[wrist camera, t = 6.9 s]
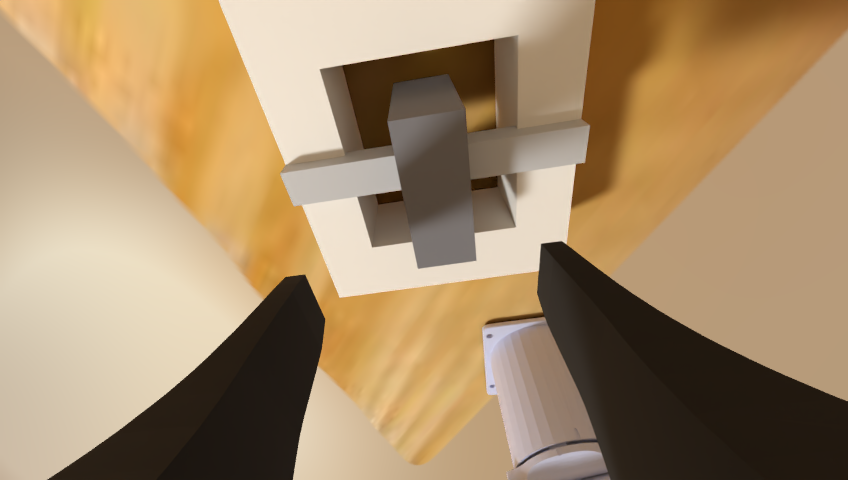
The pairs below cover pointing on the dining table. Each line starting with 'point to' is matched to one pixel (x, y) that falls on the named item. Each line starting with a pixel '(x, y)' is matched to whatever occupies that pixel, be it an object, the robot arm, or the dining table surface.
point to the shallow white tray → (376, 167)
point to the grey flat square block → (433, 169)
